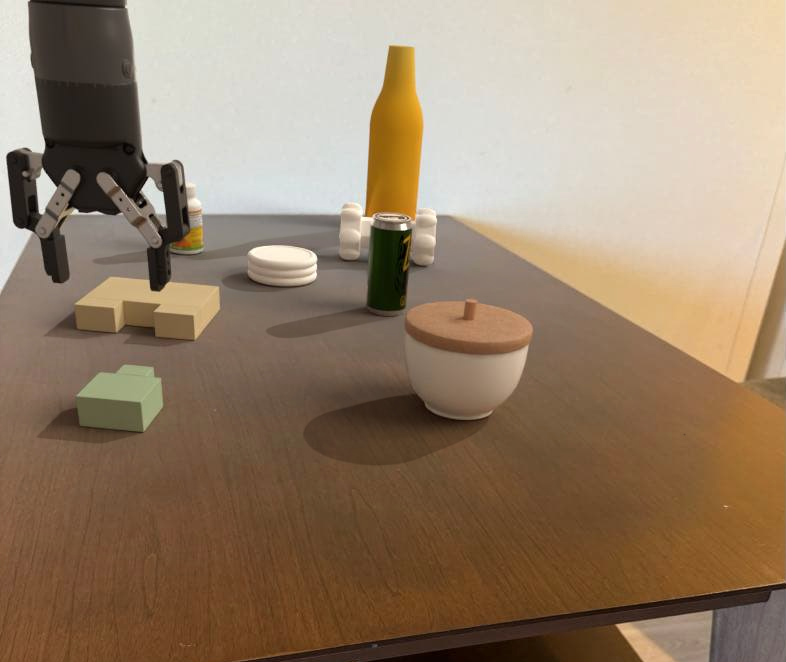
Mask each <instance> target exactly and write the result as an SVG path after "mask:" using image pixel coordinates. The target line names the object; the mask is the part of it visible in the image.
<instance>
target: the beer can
mask: <svg viewBox="0 0 786 662" xmlns="http://www.w3.org/2000/svg"><path fill="white" fill-rule="evenodd" d="M411 240H412V224H411V217H409V216H406V215H403V214H397V213H377V214H374V215H373V220H372V222H371V224H370V242H369V248H368V261H367V278H366V279H367V280H366V297H365V298H366V299H365V305H366V307H367V310H368V312H369V313H371V314H374V315H376V316H377V315H378V316H381V317H396V316H400V315H402V314H403V313H404V312H405V311H406V308H407V302H408V300H407V299H408V288H409V274H410V264H411V253H412V252H411Z"/></svg>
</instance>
